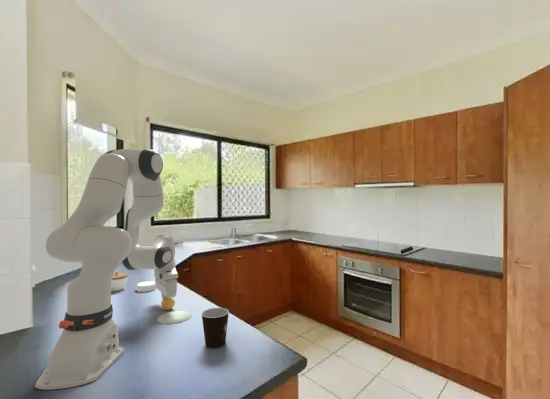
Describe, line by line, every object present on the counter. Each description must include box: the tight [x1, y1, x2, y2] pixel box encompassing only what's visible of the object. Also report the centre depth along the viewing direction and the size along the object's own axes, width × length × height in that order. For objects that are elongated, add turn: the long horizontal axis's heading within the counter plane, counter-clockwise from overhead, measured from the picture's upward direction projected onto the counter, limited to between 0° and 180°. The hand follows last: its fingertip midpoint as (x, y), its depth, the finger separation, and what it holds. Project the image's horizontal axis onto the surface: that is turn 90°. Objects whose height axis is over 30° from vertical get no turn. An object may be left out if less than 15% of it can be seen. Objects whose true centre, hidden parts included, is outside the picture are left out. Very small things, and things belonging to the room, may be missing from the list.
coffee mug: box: [201, 307, 230, 349], centre depth 93 cm, size 12×9×10 cm
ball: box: [161, 297, 176, 311], centre depth 123 cm, size 6×6×6 cm
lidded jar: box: [111, 271, 128, 292], centre depth 153 cm, size 11×11×9 cm
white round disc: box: [136, 280, 157, 293], centre depth 153 cm, size 10×10×4 cm
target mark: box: [156, 310, 192, 325], centre depth 114 cm, size 13×13×1 cm
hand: (165, 302), depth 126 cm, fingers closed
